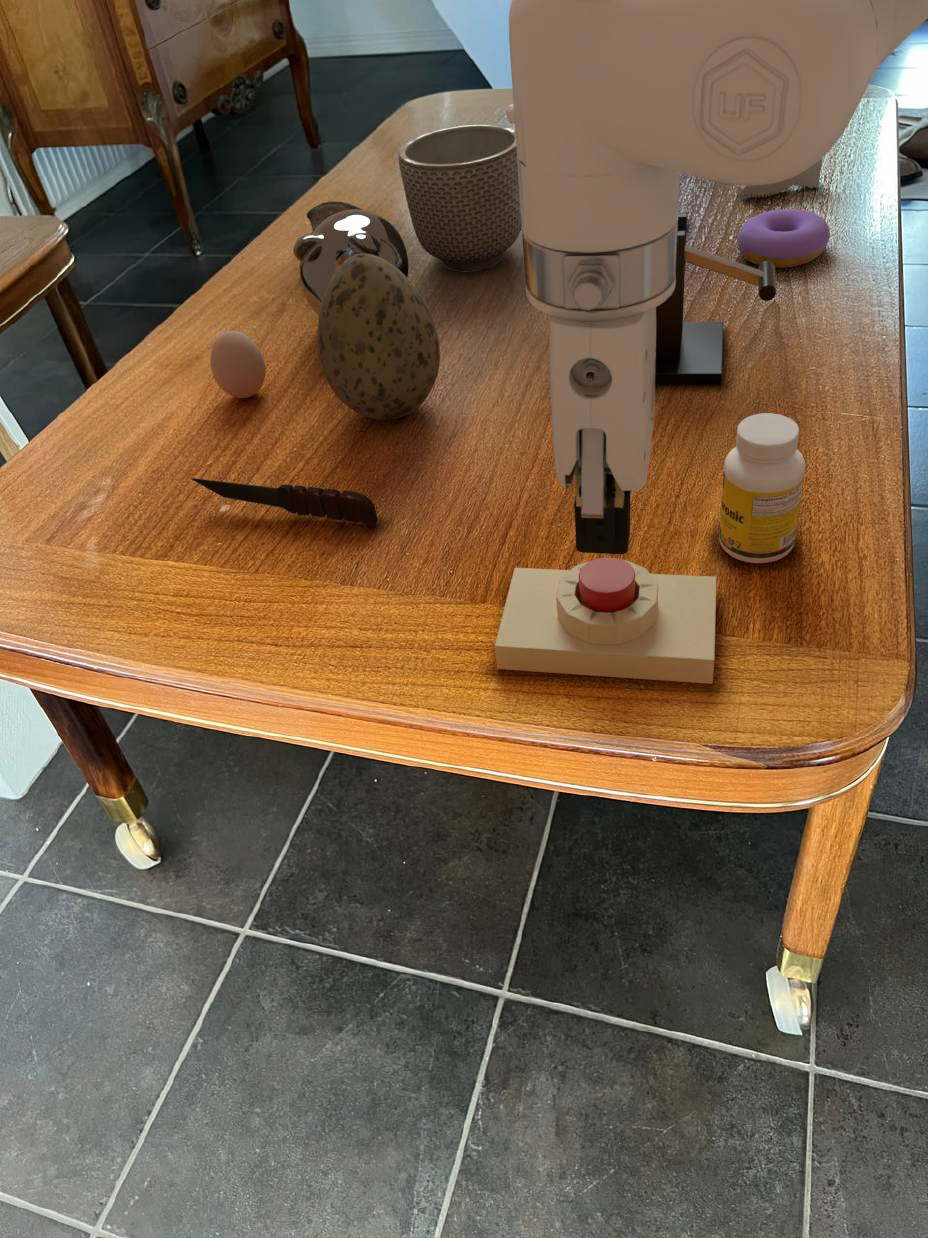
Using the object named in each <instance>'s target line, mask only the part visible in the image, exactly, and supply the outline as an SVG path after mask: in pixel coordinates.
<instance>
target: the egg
mask: <svg viewBox="0 0 928 1238" xmlns="http://www.w3.org/2000/svg"><path fill="white" fill-rule="evenodd" d="M210 369H211V373H212V376H213V379H214V381H215V382H216V384H217V386H218V387H219V388H220V390H222V391H223V392H224V393H226V394H227V395H229V396H232V397H233V398H237V399H248V398H251V397H253V396H255V395H256V394H257V393H258V392H259V391H260V389H261V388H262V386H263V384H264V382H265V379H266V373H267V372H266V370H267V369H266V362H265V359H264V357H263V354H262V352H261V351H260V348H259V347H258V346H257V344H256V343H255V342H254V341H253V340H252V338H250V337H249V336H248V335H246V334H245V333H243V332H241V331H237V330H226V331H224V332H222V333H220V334H219V335H218V336H217V337H216V338H215V341H214V342H213V344H212V346H211V352H210Z"/></svg>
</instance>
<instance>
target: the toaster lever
mask: <svg viewBox="0 0 928 1238" xmlns="http://www.w3.org/2000/svg"><path fill="white" fill-rule="evenodd" d="M684 261H685V263H687V264H691V265H693V266H696V267H700V268H703V269H706V270H709V271H712V272H714V273H718V274H721V275H724V276H727V277H729V278H732V279H736V280H739V281H742V282H745V283H748V284H751V285H754V286H757V287H758V297H759V298H760V300H761V301H764V302H768V301H772V300H773V299H775V297H776V295H777V285H776V284H777V280H776V268H775V266H774V264H773V263H772V262H770V261H764V262H762V263H761V264H760V265H758V267H757V268H755V267H753V266H749V265H746V264H743V263H740V262H737V261H734V260H731V259H728V258H725V257H722V256H720V255H716V254H713V253H710V252H707V251H704V250H702V249H698V248H695V247H692V246H689V245H687V244H686V245H685V255H684Z"/></svg>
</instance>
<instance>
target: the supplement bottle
mask: <svg viewBox="0 0 928 1238" xmlns="http://www.w3.org/2000/svg"><path fill="white" fill-rule="evenodd" d="M799 437H800V427H799V425H798V423H797V422H795V421H794V420H793V419H792V418H790V417H788V416H785V415H782V414H778V413H771V412H768V413H767V412H766V413H763V412H762V413H757V414H752V415H750V416H747V417H745V418H744V419H742V420H741V421H740V422H739V423H738V426H737V429H736V439H735V446H734V447H733V448H732V449H731V450H730V451H729V452H728V454H727V455H726V457H725V459H724V462H723V463H724V464H723V471H722V488H721V489H722V490H721V500H720V501H721V503H720V516H719V517H720V518H719V525H718V527H719V528H718V540H719V544H720V546H721V548H722V549H723V551H724V552H725V553H726V554H728V555H729V556H730V557H732V558H734V559H736V560H738V561H741V562H745V563H750V564H766V563H768V564H769V563H772V562H776V561H779V560H781V559H783V558H784V557H786V556H788V554H789V553H791V551H792V549H793V548H794V545H795V543H796V537H797V536H796V535H797V531H798V524H799V515H800V509H801V502H802V494H803V487H804V481H805V476H806V475H805V474H806V460H805V458H804V456H803V454H802V453H801V451H799V449H798V445H799V439H800V438H799Z"/></svg>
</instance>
